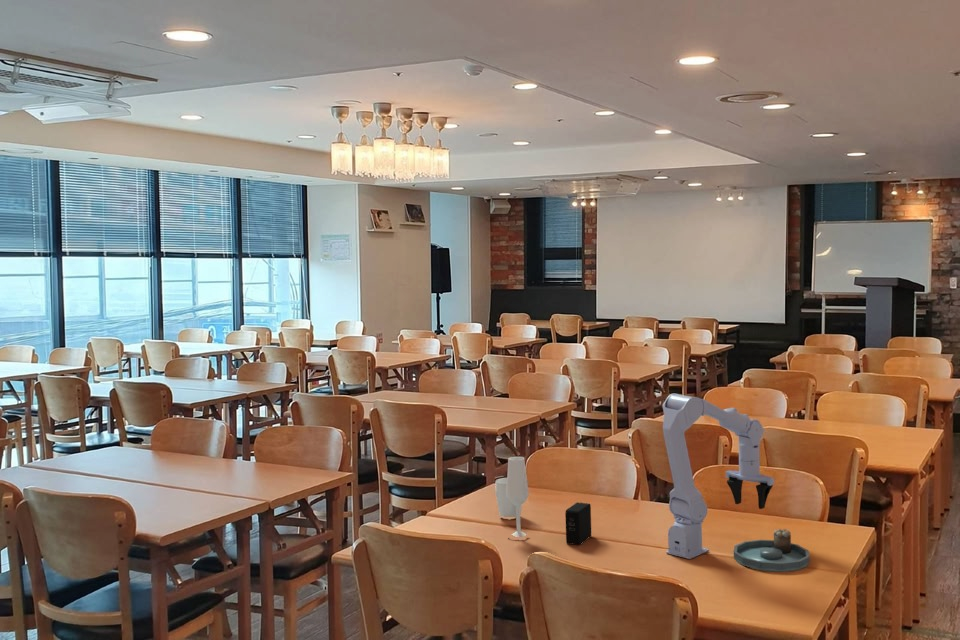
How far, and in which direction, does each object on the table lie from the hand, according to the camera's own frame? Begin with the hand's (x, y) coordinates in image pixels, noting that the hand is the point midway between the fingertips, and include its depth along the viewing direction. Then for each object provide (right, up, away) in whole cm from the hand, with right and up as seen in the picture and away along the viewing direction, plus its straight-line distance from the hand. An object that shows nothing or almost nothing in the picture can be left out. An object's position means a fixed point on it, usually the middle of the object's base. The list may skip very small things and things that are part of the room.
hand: (749, 505), depth 261 cm
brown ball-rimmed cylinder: (+5, -9, -15) cm, 18 cm away
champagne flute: (-67, -11, +9) cm, 68 cm away
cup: (-68, -10, +30) cm, 75 cm away
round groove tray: (0, -11, -18) cm, 21 cm away
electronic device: (-49, -11, +4) cm, 50 cm away
